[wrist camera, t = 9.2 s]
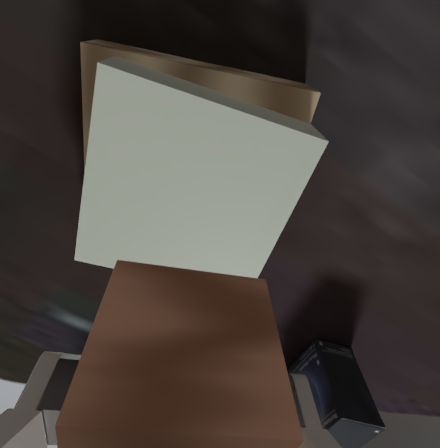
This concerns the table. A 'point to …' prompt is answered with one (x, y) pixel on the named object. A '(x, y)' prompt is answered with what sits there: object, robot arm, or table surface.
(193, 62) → the birch slab
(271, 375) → the terracotta cube
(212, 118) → the sage block
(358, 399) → the small box
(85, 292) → the table surface
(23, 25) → the table surface
